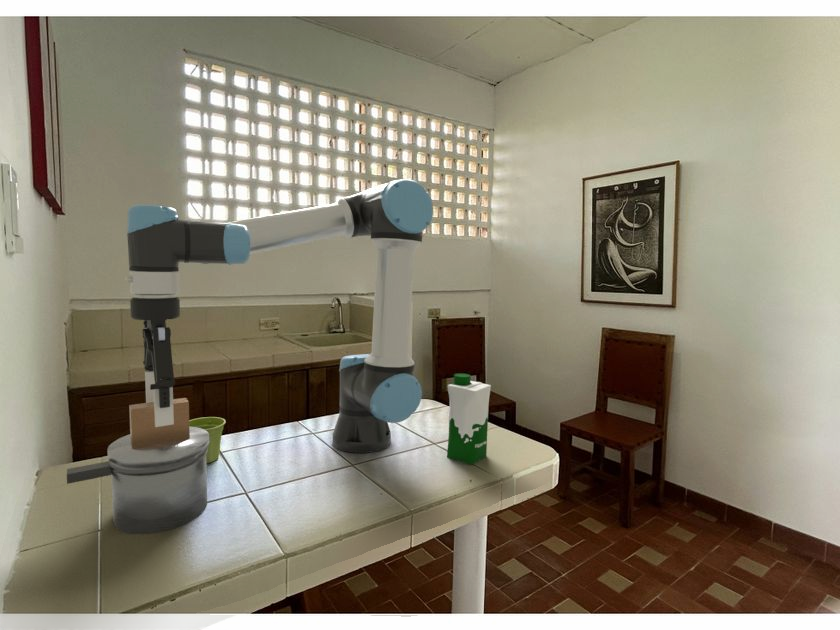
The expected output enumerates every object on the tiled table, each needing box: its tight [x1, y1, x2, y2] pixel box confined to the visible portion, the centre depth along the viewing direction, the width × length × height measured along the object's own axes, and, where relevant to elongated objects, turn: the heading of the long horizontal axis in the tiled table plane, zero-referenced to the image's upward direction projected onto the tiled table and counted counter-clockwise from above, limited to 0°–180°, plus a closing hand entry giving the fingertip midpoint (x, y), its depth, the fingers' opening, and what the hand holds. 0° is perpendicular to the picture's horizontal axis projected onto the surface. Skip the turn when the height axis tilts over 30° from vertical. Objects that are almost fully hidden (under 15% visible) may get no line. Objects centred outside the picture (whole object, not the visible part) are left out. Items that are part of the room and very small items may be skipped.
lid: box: [106, 397, 209, 466], centre depth 83 cm, size 16×16×8 cm
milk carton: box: [446, 372, 492, 466], centre depth 111 cm, size 9×9×20 cm
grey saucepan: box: [66, 446, 208, 535], centre depth 82 cm, size 21×16×12 cm
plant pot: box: [189, 416, 227, 464], centre depth 107 cm, size 9×9×9 cm
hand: (159, 414), depth 83 cm, fingers open, 13 cm apart
